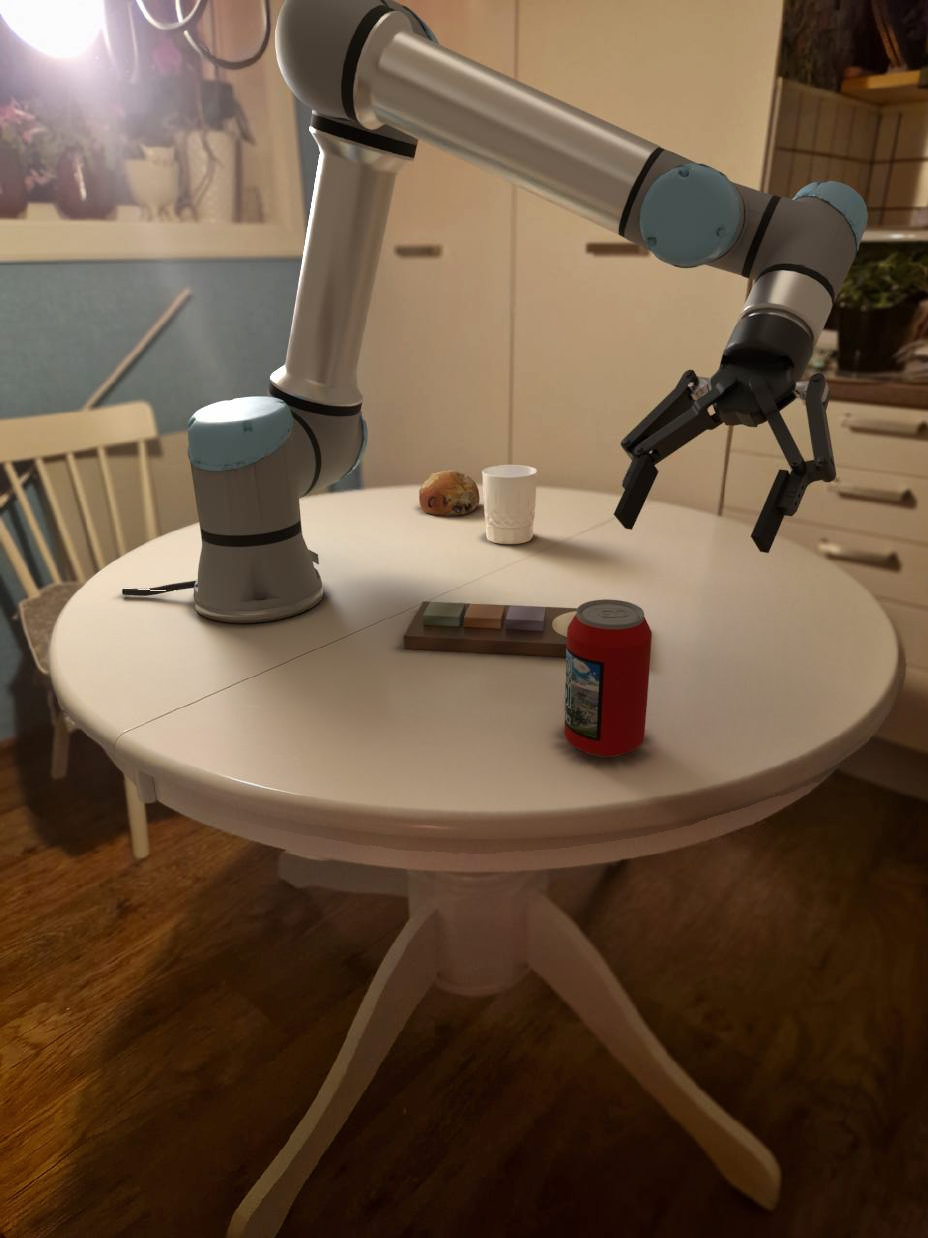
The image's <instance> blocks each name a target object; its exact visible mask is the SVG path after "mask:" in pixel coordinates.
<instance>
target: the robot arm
mask: <svg viewBox="0 0 928 1238" xmlns="http://www.w3.org/2000/svg"><path fill="white" fill-rule="evenodd" d="M274 33H275V34H274V39H275V40H274V47H275V55H276V61H277V65H278V67H279V70H280V73H281V75H282V77H283V79H284V81H285V84H286V85H287V86H288V88H289V89H290V90H291V92H292V93H293V94H294V96H295V97H296V98H297V99H298V100H299V101H300V102H301V103H302V104H303V105H305V106H306V107H308V108H309V109H311V110H312V111H311V117H310V123H309V124H310V125H309V132H310V133H311V135H312V137H313V139H314V141H315V142H316V144H317V146H318V149H319V152H320V154H319V157H318V165H317V170H316V177H315V181H314V189H313V194H312V201H311V206H310V207H311V208H310V214H309V218H308V225H307V230H306V236H305V244H304V249H303V254H302V255H303V256H302V261H301V267H300V273H299V280H298V284H297V285H298V286H297V291H296V296H295V297H296V298H295V304H294V309H293V316H292V320H291V328H290V334H289V339H288V346H287V351H286V356H285V362H284V364H283V365H282V366H281V367H279V368H278V369H276V370H275V371H273V372H272V373H271V374H270V377H269V383H268V389H267V394H266V395H267V396H244V397H243V396H241V397H237V398H233V399H231V400H221V401H218V402H214V403H211V404H209V405H206V406H204V407H202V408H200V409H198V410H196V412H194V413H193V414H192V416H191V417H190V418H189V420H188V422H187V426H186V427H187V428H186V431H187V432H186V433H187V448H186V449H187V456H188V460H189V463H190V471H191V477H192V484H193V491H194V496H195V503H196V511H197V517H198V518H197V519H198V523H199V529H200V536H201V549H200V555H199V562H198V568H197V579H195V580H190V581H182V582H176V583H170V584H165V585H160V586H156V587H155V586H154V587H148V588H149V589H150V590H166V591H150V590H138V589H139V588H133V589H123V588H122V589H121V594H122V595H123V596H134V597H145V596H146V597H147V596H156V595H160V594H166V593H171V592H175V591H174V590H176V591H183V590H190V589H193V601H194V608H195V610H196V611H197V612H198V613H199V615H201V616H203V617H205V618H207V619H210V620H214V621H216V622H217V621H218V622H224V623H233V624H250V623H251V624H252V623H264V622H272V621H277V620H281V619H285V618H289V617H294V616H296V615H299V614H301V613H304V612H306V611H309V610H310V609H312V608H314V607H315V606H316V605H317V604H318V603H320V601H321V600H322V598H323V596H324V589H323V582H322V578H321V575H320V573H319V571H318V569H317V568H316V567H315V564H317V565H320V562H319V554H318V553H317V552H314V551H313V550H311V549H309V548H308V546H307V542H306V541H305V539H304V535H303V529H302V527H303V526H302V518H301V517H302V515H301V506H300V505H301V504H300V499H302V498H304V497H305V496H308V495H310V494H313V493H315V492H317V491H319V490H321V489H324V488H326V487H330V486H332V485H335V484H336V483H339V482H341V481H343V479H345V478H346V477H347V476H348V475H350V474H351V473H353V471H354V470H355V469H356V468H357V467H358V466H359V464H360V463H361V461H362V460H363V458H364V456H365V454H366V451H367V447H368V442H369V441H368V440H369V430H368V425H367V420H365V419H364V417H363V411H362V406H363V401H364V394H363V392H362V391H361V390H360V388H359V387H358V385H357V384H356V382H355V380H356V375H357V370H358V365H359V360H360V356H361V350H362V346H363V341H364V335H365V332H366V326H367V321H368V317H369V312H370V306H371V302H372V298H373V297H372V296H373V292H374V287H375V284H376V283H375V282H376V277H377V272H378V268H379V262H380V257H381V253H382V248H383V242H384V239H385V238H384V237H385V233H386V229H387V223H388V219H389V214H390V209H391V204H392V199H393V195H394V189H395V184H396V179H397V176H398V174H399V172H400V171H402V170H403V169H405V168H406V167H407V166H409V165H411V164H412V163H413V162H414V161H415V156H416V152H417V147H418V144H419V141H420V142H423V143H425V144H427V145H429V146H431V147H433V148H435V149H436V150H439V151H442V152H444V153H446V154H447V155H450V156H452V157H454V158H457V159H458V160H460V161H462V162H464V163H467V164H468V165H469V164H470V165H471V166H473V167H475V168H477V169H480V170H482V171H483V172H486V173H488V174H489V175H492V176H495V177H496V178H498V179H500V180H502V181H505V182H506V183H508V184H511V185H513V186H515V187H517V188H519V189H522V190H523V191H525V192H528V193H529V194H532V195H534V196H536V197H538V198H540V199H542V200H544V201H547V202H549V203H551V204H552V205H554V206H556V207H559V208H561V209H563V210H565V211H567V212H569V213H572V214H573V215H576V216H578V217H580V218H582V219H584V220H586V221H588V222H591V223H592V224H595V225H596V226H599V227H601V228H603V229H605V230H607V231H609V232H611V233H613V234H614V235H615V234H616V235H618V236H620V237H621V238H624V239H625V240H626V241H628V242H630V243H633V244H635V245H637V246H639V247H641V248H643V249H645V250H646V251H649V252H651V253H652V254H653V256H654V257H655V258H657V260H659V261H661V262H663V263H665V264H668V265H671V266H673V267H675V268H679V269H693V268H699V267H701V266H705V265H706V266H709V267H711V268H714V269H718V270H722V271H725V272H728V273H732V274H735V275H737V276H741V277H743V278H745V279H751V280H753V281H755V282H754V284H753V286H752V288H751V290H750V292H749V295H748V297H747V298H746V301H745V303H744V305H743V307H742V309H741V311H740V313H739V316H738V318H737V322H736V324H735V326H734V327H733V329H732V331H731V334H730V336H729V339H728V341H727V343H726V345H725V347H724V349H723V352H722V354H721V359H720V363H719V367H718V369H717V370H716V372H715V373H714V374H713V375H711V376H710V377H706V376H698V375H697V374H696V372H695V371H694V369H687V370H686V371H684V372H683V374H682V376H681V377H680V379H679V380H678V382H677V384H676V386H675V387H674V388H673V389H672V390H671V391H670V392H669V393H668V394H667V395H666V396H665V397H663V399H662V400H661V401H660V402H659V403H658V404H657V405H656V406H655V407H654V408H653V409H652V410H651V411H649V413H648V414H647V415H646V416H645V417H644V418H643V419H642V420H641V421H640V422H639V423H638V424H637V425H636V426H634V428H633V429H632V430H631V431H629V433H627V434H626V436H624V438H623V439H622V440H621V441H620V446H621V448H622V450H623V451H624V452H625V454H626V455H627V456H628V458H629V459H630V460H631V461H630V464H629V466H628V468H627V470H626V473H625V474H624V477H623V479H622V481H621V487H622V488H623V490H624V491H623V492H622V495H621V497H620V499H619V501H618V503H617V505H616V508H615V510H614V512H613V516H614V518H616V520H617V521H618V523H620V524H621V526H622V527H623V529H624V530H625V529H626V530H629V531H632V530H633V529H634V526H635V524H636V522H637V520H638V517H639V516H640V513H641V511H642V509H643V507H644V506H645V505H644V504H645V502H646V500H647V498H648V496H649V494H650V491H651V489H652V488H653V486H654V483H655V481H656V479H657V476H658V474H659V469H658V468H657V467H656V466H657V464H659V463H660V462H662V461H663V460H665V459H666V458H668V457H669V456H670V455H672V454H673V453H675V452H677V451H678V450H679V449H681V448H682V447H684V446H685V445H687V444H688V443H690V442H691V441H693V440H694V439H696V438H697V437H699V436H700V435H702V434H703V433H704V432H706V431H708V430H709V431H713V430H714V429H717V428H718V427H719V426H721V425H723V424H724V425H725V426H731V427H735V426H741V425H742V426H745V427H748V428H758V426H759V425H762V424H764V423H766V422H767V423H768V425H769V427H770V429H771V431H772V434H773V435H774V437H775V440H776V441H777V444H778V445H779V447H780V449H781V452H782V454H783V456H784V458H785V461H786V462H787V464H788V466H789V468H790V470H791V471H789V470H788V469H779V468H778V472H777V474H776V475H775V478H774V481H773V483H772V485H771V488H770V490H769V492H768V494H767V497H766V500H765V501H764V504H763V506H762V508H761V510H760V513H759V515H758V517H757V520H756V523H755V525H754V527H753V529H752V532H751V534H750V538H751V539H752V541H753V543H754V545H755V546H756V547H757V549H758V551H759V552H760V553H764V554H769V553H770V551H771V548H772V546H773V544H774V542H775V539H776V537H777V534H778V532H779V530H780V527H781V525H782V522H783V520H784V518H785V517H793V516H795V514H796V513H797V511H798V509H799V507H800V505H801V502H802V500H803V498H804V495H805V493H806V490H807V488H808V487H809V486H810V485H811V484H812V483H814V482H820V481H822V482H823V483H831V482H833V481H834V480H835V479H837V470H836V463H835V458H834V457H835V456H834V451H833V445H832V440H831V439H832V438H831V434H830V427H829V420H828V415H827V409H828V406H829V402H830V400H831V399H830V398H831V394H832V393H831V390H830V388H829V385H828V383H827V380H826V377H825V375H824V374H823V373H822V372H817V373H814V374H812V375H811V376H810V377H809V380H802V379H803V377H804V374H805V373H806V369H807V368H808V365H809V363H810V360H811V358H812V356H813V353H814V349H815V347H816V346H817V344H818V342H819V339H820V337H821V334H822V333H823V330H824V327H825V325H826V323H827V321H828V318H829V316H830V314H831V311H832V308H833V307H834V304H835V302H836V300H837V298H838V296H839V293H840V291H841V289H842V286H843V285H844V282H845V280H846V278H847V276H848V274H849V271H850V269H851V267H852V265H853V262H854V260H855V259H856V256H857V254H858V251H859V249H860V245H861V241H862V239H863V236H864V234H865V231H866V228H867V225H868V220H869V213H868V208H867V204H866V203H865V201H864V198H863V197H862V196H861V194H860V193H859V192H857V190H855V189H854V188H852V187H851V186H850V185H848V184H846V183H842V182H839V181H834V180H828V181H826V182H825V181H824V182H819V181H815V182H811V183H809V184H807V185H805V186H803V187H802V188H800V189H799V191H798V192H797V193H796V194H795V196H794V197H793V198H792V199H791V198H789V197H784V196H779V195H775V194H774V195H773V194H770V193H768V192H764V191H761V190H757V189H754V188H752V187H748V186H746V185H743V184H739V183H736V182H733V181H731V180H730V179H729V177H728V176H727V175H726V174H725V173H723V172H722V171H720V170H718V169H716V168H714V167H711V166H709V165H707V164H705V163H698V162H696V161H693V160H691V159H689V158H687V157H685V156H682V155H680V154H678V153H676V152H673V151H671V150H668V149H665V148H663V147H661V146H660V145H659V144H656V143H654V142H653V141H650V140H647V139H646V138H644V137H642V136H639V135H637V134H636V133H633V132H630V131H628V130H626V129H623V128H622V127H619V126H618V125H615V124H613V123H611V122H609V121H606V120H604V119H602V118H600V117H598V116H596V115H593V114H591V113H589V112H587V111H584V110H583V109H580V108H579V107H577V106H575V105H572V104H569V103H567V102H565V101H564V100H561V99H559V98H556V97H554V96H552V95H550V94H548V93H546V92H543V91H541V90H539V89H538V88H535V87H533V86H531V85H528V84H526V83H523V82H521V81H520V80H518V79H515V78H513V77H510V76H508V75H506V74H504V73H503V72H500V71H498V70H496V69H493V68H491V67H489V66H487V65H485V64H483V63H481V62H479V61H477V60H474V59H472V58H470V57H468V56H465V55H463V54H460V53H458V52H456V51H454V50H452V49H450V48H448V47H446V46H443V45H442V44H440V43H439V40H438V38H437V36H436V35H435V33H434V32H433V30H432V28H430V26H428V25H427V24H426V22H425V21H423V19H422V18H420V17H419V15H417V13H416V12H414V11H413V10H412V9H411V8H410V7H408V6H406V5H403V4H401V3H399V2H397V1H395V0H284V2H283V4H282V5H281V9H280V11H279V14H278V17H277V20H276V26H275V32H274ZM798 397H799V398H800V400H801V404H802V405H803V406H805V411H806V416H807V423H808V430H809V436H810V437H809V438H810V443H811V450H812V456H813V459H811V460H805V459H804V456H803V455H802V453H801V451H800V450H799V447H798V445H797V443H796V442H795V439H794V437H793V435H792V433H791V431H790V429H789V428H788V425H787V423H786V421H785V420H784V418H783V416H782V414H781V411H782V410H784V409H785V408H787V407H788V406H789V405H790V404H792V403H793V402H795V400H796V399H797V398H798ZM710 407H712V408H713V411H714V413H712V414H710V412H709V408H710ZM314 563H315V564H314Z"/></svg>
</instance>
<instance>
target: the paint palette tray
mask: <svg viewBox="0 0 928 1238" xmlns="http://www.w3.org/2000/svg"><path fill="white" fill-rule="evenodd" d="M577 608H578V607H562V606H561V607H560V606H558V607H557V606H538V605H537V606H536V605H517V604H515V605H514V604H496V603H495V604H491V603H471V602H451V601H450V602H447V601H425V600H423V601H422V602H421V604H420V605H419V608H418V610H417V611H416V613H415V614H414V616H413V619H412V620H411V622H410V624H409V625H408V627H407V629H406V630H405V632H404V634H403V648H404V649H409V650H413V649H414V650H426V651H427V650H428V651H444V652H445V651H446V652H465V653H486V654H500V655H502V654H503V655H521V656H539V657H558V658H559V657H560V658H566V649H567V628H568V626H569V624H570V622H571V621H572V619H573V618H574V616H575V614H576V612H577Z"/></svg>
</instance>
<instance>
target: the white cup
mask: <svg viewBox="0 0 928 1238" xmlns="http://www.w3.org/2000/svg"><path fill="white" fill-rule="evenodd" d="M481 476H482V477H481V479H482V497H483V498H482V499H483V509H484V521H485V532H486V533H485V534H486V538H487V540H488V541H489V542H492V543H495V544H499V545H519V544H524V543H527V542H530V541H531V540H532V539H533V537H534V521H535V515H536V514H535V513H536V511H535V509H536V503H537V486H538V485H537V484H538V469H537V468H535V467H533V466H528V465H522V464H499V465H491V466H488V467H485V468H484V469H482V470H481Z"/></svg>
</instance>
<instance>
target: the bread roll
mask: <svg viewBox="0 0 928 1238" xmlns="http://www.w3.org/2000/svg"><path fill="white" fill-rule="evenodd" d="M480 499H481V497H480V491H479V487H478V485H477V483H476V481H475V480H474V479H473V478H472V477H470V476H469V474H465V473H464V472H462V471H458V470H457V469H456V470H455V469H445V470H443V471H438V472H432V473H431V474H430V476H429V478H427V479H426V480H425V481H424V483H423V484H422V485H421V486H420V487H419V490H418V502H419V505H420V506H419V507H420V509H421V510H422V511H423V512H425V513H426V514H430V515H433V516H440V517H441V516H442V517H443V516H445V517H446V516H460V515H467V514H468V513H472V512H473V511H474V510H475V509H476V508H477V506H478V505H479V504H480Z"/></svg>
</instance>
